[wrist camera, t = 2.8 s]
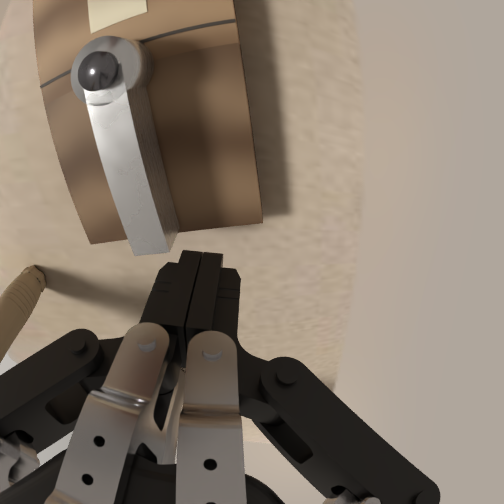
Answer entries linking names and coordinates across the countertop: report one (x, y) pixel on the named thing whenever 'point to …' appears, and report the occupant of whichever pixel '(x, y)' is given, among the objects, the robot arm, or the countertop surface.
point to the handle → (18, 305)
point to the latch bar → (127, 138)
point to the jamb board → (157, 107)
